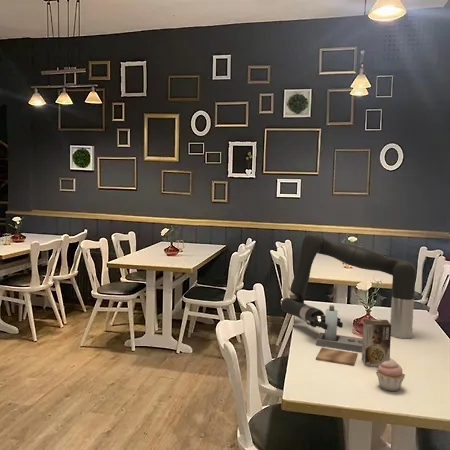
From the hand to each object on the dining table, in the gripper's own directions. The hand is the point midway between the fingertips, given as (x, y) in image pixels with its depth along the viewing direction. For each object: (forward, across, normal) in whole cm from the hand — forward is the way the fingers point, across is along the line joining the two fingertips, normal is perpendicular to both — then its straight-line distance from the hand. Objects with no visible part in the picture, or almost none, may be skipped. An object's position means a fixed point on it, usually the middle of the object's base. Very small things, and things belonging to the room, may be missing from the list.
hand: (334, 326), depth 196 cm
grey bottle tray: (+2, +4, +8) cm, 9 cm away
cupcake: (+40, -7, +8) cm, 42 cm away
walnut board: (+12, -7, +8) cm, 16 cm away
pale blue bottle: (-2, 0, +8) cm, 8 cm away
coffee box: (+22, +3, +8) cm, 24 cm away
